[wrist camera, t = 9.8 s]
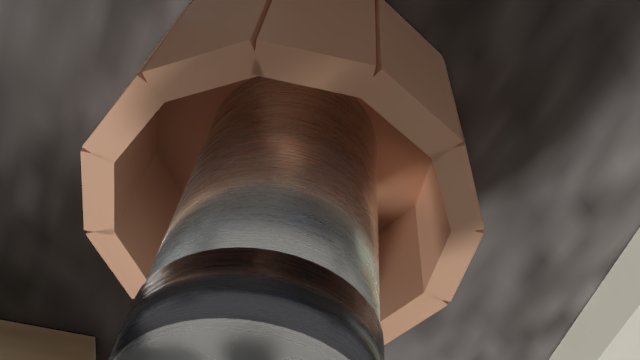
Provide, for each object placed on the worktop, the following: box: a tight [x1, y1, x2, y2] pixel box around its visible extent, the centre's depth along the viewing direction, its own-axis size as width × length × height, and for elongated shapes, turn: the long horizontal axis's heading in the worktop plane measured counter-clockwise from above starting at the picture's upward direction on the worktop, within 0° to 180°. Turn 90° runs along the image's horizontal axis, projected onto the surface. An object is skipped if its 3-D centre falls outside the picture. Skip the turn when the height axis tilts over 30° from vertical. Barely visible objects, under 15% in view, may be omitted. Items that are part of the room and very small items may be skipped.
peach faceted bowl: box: [81, 0, 485, 345], centre depth 13 cm, size 8×8×4 cm
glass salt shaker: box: [108, 76, 384, 360], centre depth 11 cm, size 4×4×8 cm
